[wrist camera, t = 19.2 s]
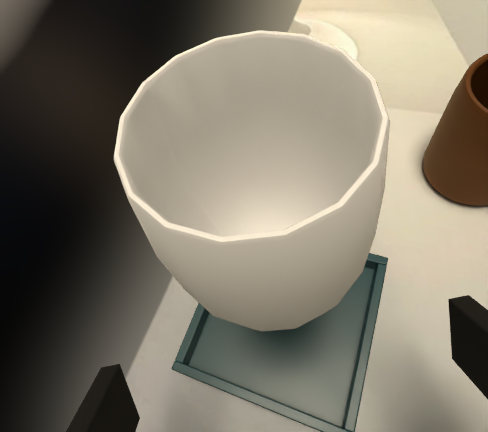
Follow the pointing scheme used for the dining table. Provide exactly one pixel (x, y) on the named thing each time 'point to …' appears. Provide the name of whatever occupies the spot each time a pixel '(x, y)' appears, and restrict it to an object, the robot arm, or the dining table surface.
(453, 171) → the mug
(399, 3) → the dining table surface
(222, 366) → the cup tray
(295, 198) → the cup
